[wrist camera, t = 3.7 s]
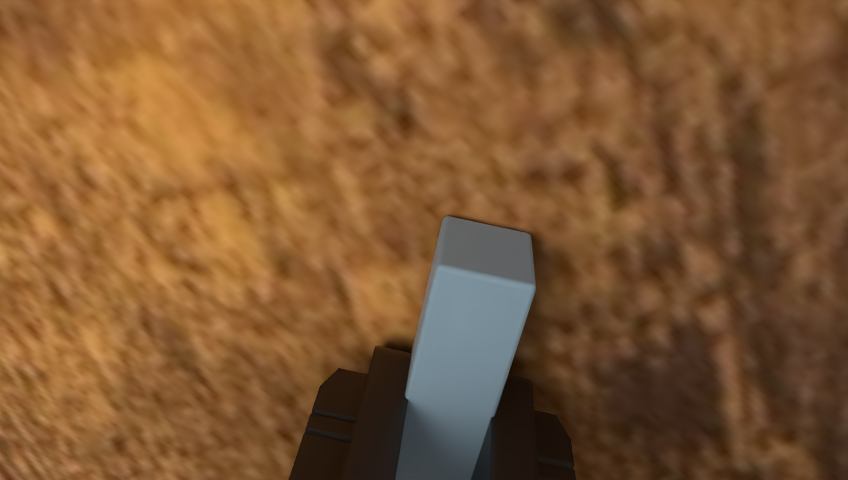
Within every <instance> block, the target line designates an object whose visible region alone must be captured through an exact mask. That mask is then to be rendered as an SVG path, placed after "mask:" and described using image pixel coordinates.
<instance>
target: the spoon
mask: <svg viewBox="0 0 848 480" xmlns="http://www.w3.org/2000/svg"><path fill="white" fill-rule="evenodd" d="M535 291H536V282H535V272H534V261H533V251H532V240H531V235H530V234H528V233H525V232H520V231H515V230H511V229H506V228H501V227H497V226H492V225H488V224H483V223H478V222H474V221H469V220H465V219H460V218H455V217H451V216H445V217H444V219H443V220H442V224H441V228H440V232H439V237H438V241H437V245H436V249H435V254H434V258H433V262H432V267H431V271H430V275H429V279H428V284H427V288H426V292H425V296H424V301H423V305H422V309H421V313H420V318H419V322H418V326H417V330H416V335H415V339H414V343H413V347H412V352H411V353H412V356H411V362H410V368H409V374H408V380H407V386H406V391H405V397H406V398H407V399H408V405H407V411H406V417H405V423H404V429H403V436H402V442H401V448H400V454H399V460H398V466H397V472H396V478H395V480H471V477H472V474H473V471H474V468H475V465H476V462H477V459H478V456H479V453H480V450H481V447H482V444H483V441H484V438H485V435H486V432H487V429H488V425H489V422H490V419H491V417H494V415H495V413H496V410H497V407H498V404H499V401H500V398H501V395H502V392H503V389H504V386H505V383H506V380H507V377H508V374H509V371H510V367H511V364H512V361H513V358H514V355H515V352H516V349H517V346H518V343H519V340H520V337H521V334H522V331H523V328H524V325H525V322H526V319H527V316H528V313H529V310H530V307H531V303H532V300H533V297H534V294H535Z"/></svg>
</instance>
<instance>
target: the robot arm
mask: <svg viewBox="0 0 848 480" xmlns="http://www.w3.org/2000/svg"><path fill="white" fill-rule="evenodd" d="M411 356H412V353H408V352H403V351H399V350H394V349H389V348H385V347H380V346H375V349H374V353H373V357H372V361H371V365H370V369H369V373H368V374H363V373H358V372H354V371H349V370H344V369H340V368H339V369H338V370H337V371H336V372H334V373H333V374H332V375H331V376H330V377H329V378H328V379H327V380H326V381H325V382H324V383H323V384H322V385H321V386H320V388H319V391H318V394H317V397H316V400H315V403H314V406H313V409H312V413H311V415H310V418H309V421H308V423H307V426H306V430H305V433H304V435H303V438H302V441H301V444H300V447H299V450H298V453H297V456H296V459H295V462H294V465H293V468H292V471H291V474H290V477H289V480H395V478H396V472H397V466H398V460H399V454H400V448H401V442H402V436H403V429H404V423H405V417H406V411H407V405H408V399H407V398H406V397H405V391H406V386H407V380H408V374H409V368H410V362H411ZM573 467H574V462H573V454H572V446H571V439H570V438H569V436H568V434H567V433H566V431H565V429H564V428H563V426H562V424H561V423H560V421H559V419H558V418H557V416H556V415H554V414H549V413H544V412H540V411H535V410H534V401H533V387H532V381H531V379H528V378H524V377H519V376H514V375H510V374H508V377H507V380H506V383H505V386H504V389H503V392H502V395H501V398H500V401H499V404H498V407H497V410H496V413H495V415H494V417H491V419H490V422H489V425H488V429H487V432H486V435H485V438H484V441H483V444H482V447H481V450H480V453H479V456H478V459H477V462H476V465H475V468H474V471H473V474H472V477H471V480H576V477H575V470H573Z"/></svg>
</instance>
